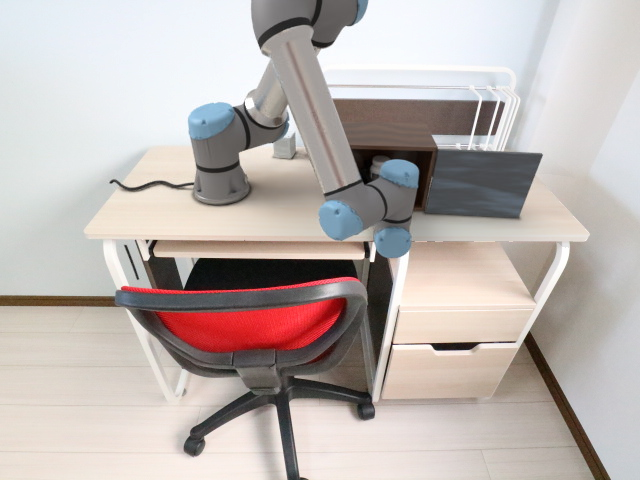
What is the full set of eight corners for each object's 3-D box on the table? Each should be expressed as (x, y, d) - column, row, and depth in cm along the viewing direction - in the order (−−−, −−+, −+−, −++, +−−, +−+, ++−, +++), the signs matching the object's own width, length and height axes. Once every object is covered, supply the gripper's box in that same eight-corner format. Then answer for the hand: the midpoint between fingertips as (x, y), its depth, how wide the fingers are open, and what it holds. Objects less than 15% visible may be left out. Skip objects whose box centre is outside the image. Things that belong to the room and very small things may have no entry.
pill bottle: (392, 193, 108) (396, 160, 102) (376, 198, 105) (380, 165, 99) (379, 185, 112) (383, 152, 106) (363, 189, 109) (366, 157, 103)
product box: (296, 152, 132) (295, 131, 127) (291, 159, 127) (290, 138, 123) (279, 150, 133) (278, 129, 128) (273, 157, 128) (272, 136, 124)
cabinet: (424, 211, 103) (438, 147, 92) (334, 208, 103) (337, 144, 92) (415, 182, 115) (425, 123, 105) (335, 180, 116) (337, 121, 105)
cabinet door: (422, 201, 106) (434, 140, 96) (511, 205, 105) (533, 144, 95) (425, 213, 101) (439, 150, 91) (518, 218, 100) (543, 154, 90)
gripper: (343, 219, 93) (342, 175, 112) (425, 222, 93) (411, 177, 111) (345, 192, 89) (344, 151, 107) (431, 195, 88) (415, 153, 107)
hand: (378, 164), depth 109 cm, fingers open, 7 cm apart
